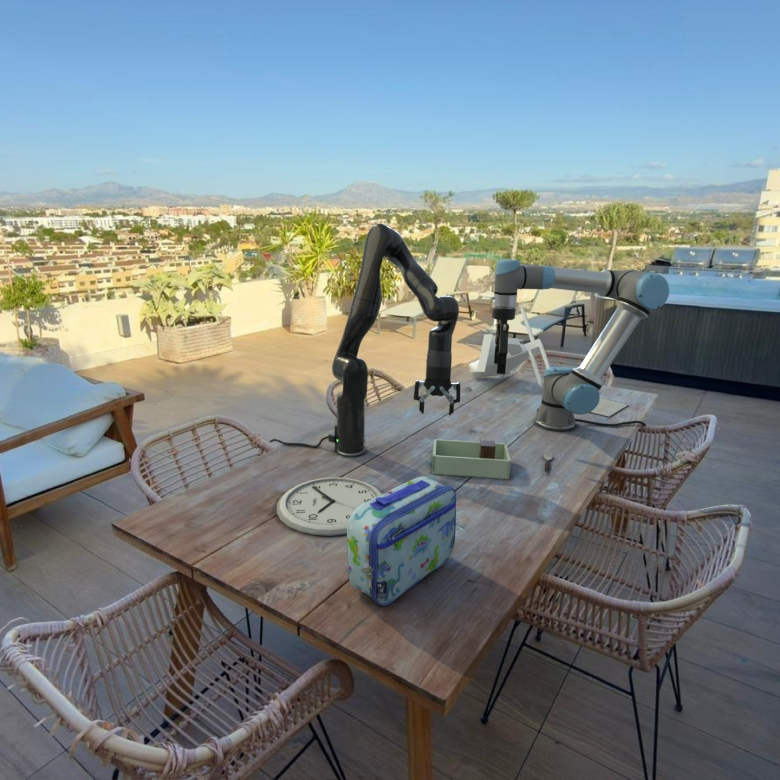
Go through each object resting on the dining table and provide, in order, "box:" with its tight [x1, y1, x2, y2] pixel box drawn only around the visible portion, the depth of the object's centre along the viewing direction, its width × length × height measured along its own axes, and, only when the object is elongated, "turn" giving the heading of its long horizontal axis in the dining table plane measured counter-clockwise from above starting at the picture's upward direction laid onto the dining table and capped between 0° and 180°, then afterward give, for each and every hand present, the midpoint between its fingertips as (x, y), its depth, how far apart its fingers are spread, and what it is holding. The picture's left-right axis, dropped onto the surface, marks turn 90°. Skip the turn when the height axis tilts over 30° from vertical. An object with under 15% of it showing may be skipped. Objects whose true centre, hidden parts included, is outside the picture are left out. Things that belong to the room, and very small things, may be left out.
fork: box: [543, 448, 554, 473], centre depth 170 cm, size 3×16×2 cm, turn 160°
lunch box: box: [346, 475, 457, 607], centre depth 111 cm, size 26×11×21 cm, turn 134°
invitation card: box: [590, 397, 629, 418], centre depth 226 cm, size 21×1×15 cm
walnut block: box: [479, 439, 496, 459], centre depth 165 cm, size 4×4×8 cm
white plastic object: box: [468, 307, 551, 390], centre depth 257 cm, size 37×45×31 cm
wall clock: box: [276, 476, 384, 537], centre depth 142 cm, size 30×2×30 cm
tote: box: [431, 438, 512, 480], centre depth 166 cm, size 24×14×6 cm, turn 83°
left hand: (436, 413), depth 163 cm, fingers open, 8 cm apart
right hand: (499, 368), depth 181 cm, fingers open, 13 cm apart
